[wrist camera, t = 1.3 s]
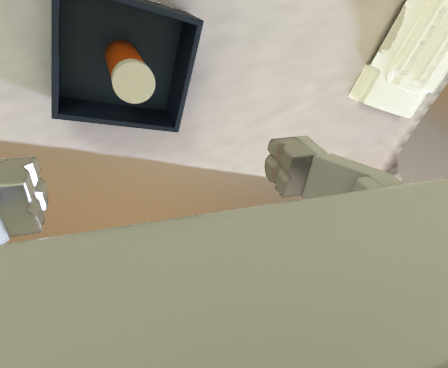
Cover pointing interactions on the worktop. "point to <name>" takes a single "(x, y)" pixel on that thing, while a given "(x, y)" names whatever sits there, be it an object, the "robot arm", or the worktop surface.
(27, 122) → the worktop surface
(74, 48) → the basket
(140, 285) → the robot arm
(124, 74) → the tube
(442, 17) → the tray
